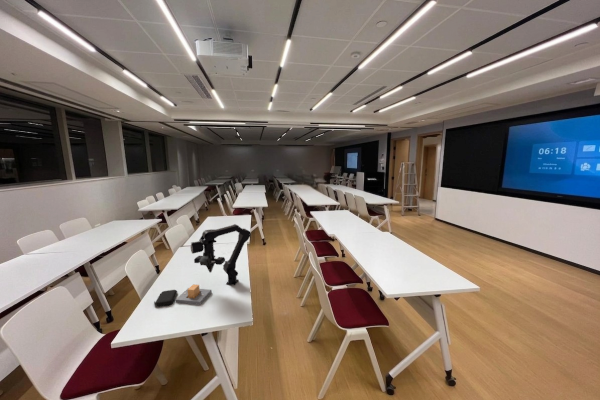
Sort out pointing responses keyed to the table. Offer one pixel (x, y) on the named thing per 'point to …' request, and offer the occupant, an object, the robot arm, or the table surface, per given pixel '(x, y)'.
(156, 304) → the carrying case or bag
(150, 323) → the table surface
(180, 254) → the table surface
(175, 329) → the table surface
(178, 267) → the table surface
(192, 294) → the plug
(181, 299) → the socket board
